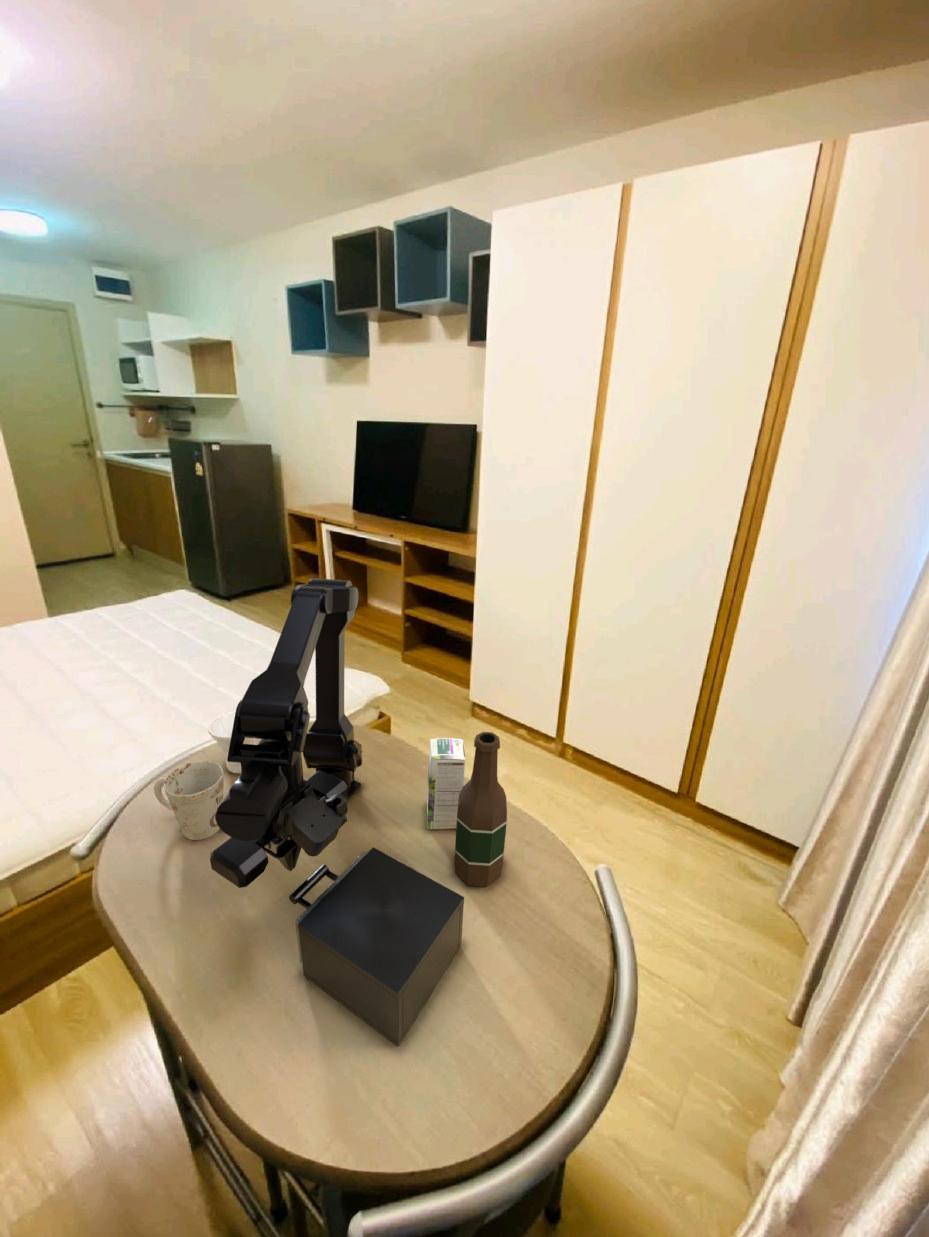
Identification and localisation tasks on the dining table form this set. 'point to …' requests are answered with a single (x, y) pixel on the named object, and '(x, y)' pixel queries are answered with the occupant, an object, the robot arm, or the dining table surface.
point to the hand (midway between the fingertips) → (290, 868)
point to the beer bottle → (481, 818)
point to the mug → (193, 797)
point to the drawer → (309, 884)
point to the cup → (226, 737)
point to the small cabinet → (382, 941)
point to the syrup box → (445, 782)
